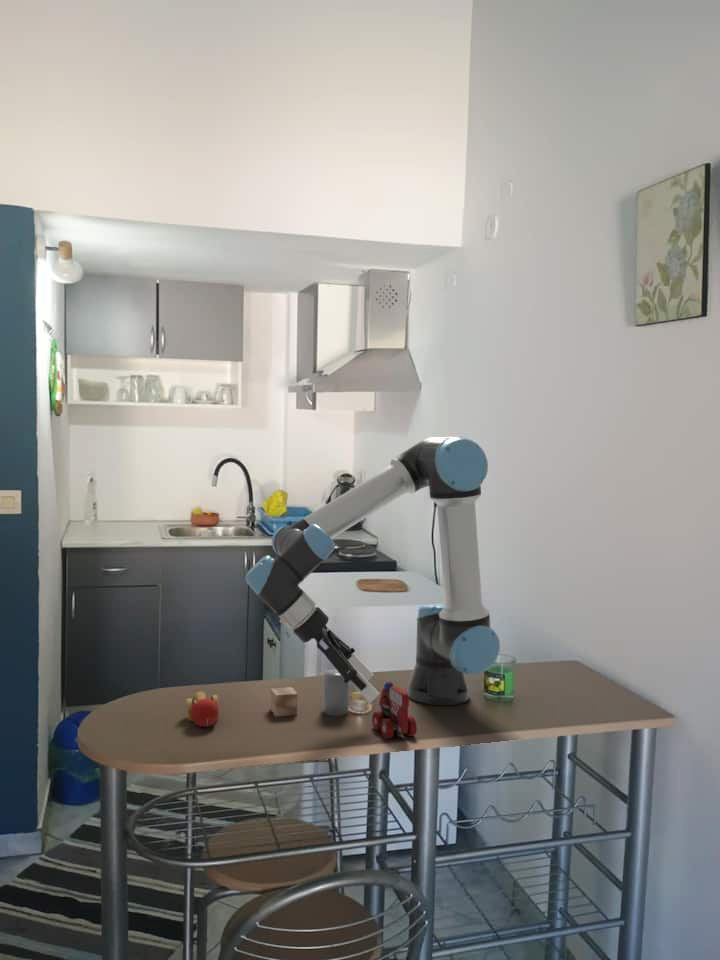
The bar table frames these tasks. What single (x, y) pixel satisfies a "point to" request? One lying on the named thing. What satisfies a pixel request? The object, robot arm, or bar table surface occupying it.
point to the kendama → (203, 709)
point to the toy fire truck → (393, 713)
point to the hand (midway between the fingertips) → (371, 688)
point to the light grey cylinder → (335, 694)
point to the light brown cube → (283, 701)
